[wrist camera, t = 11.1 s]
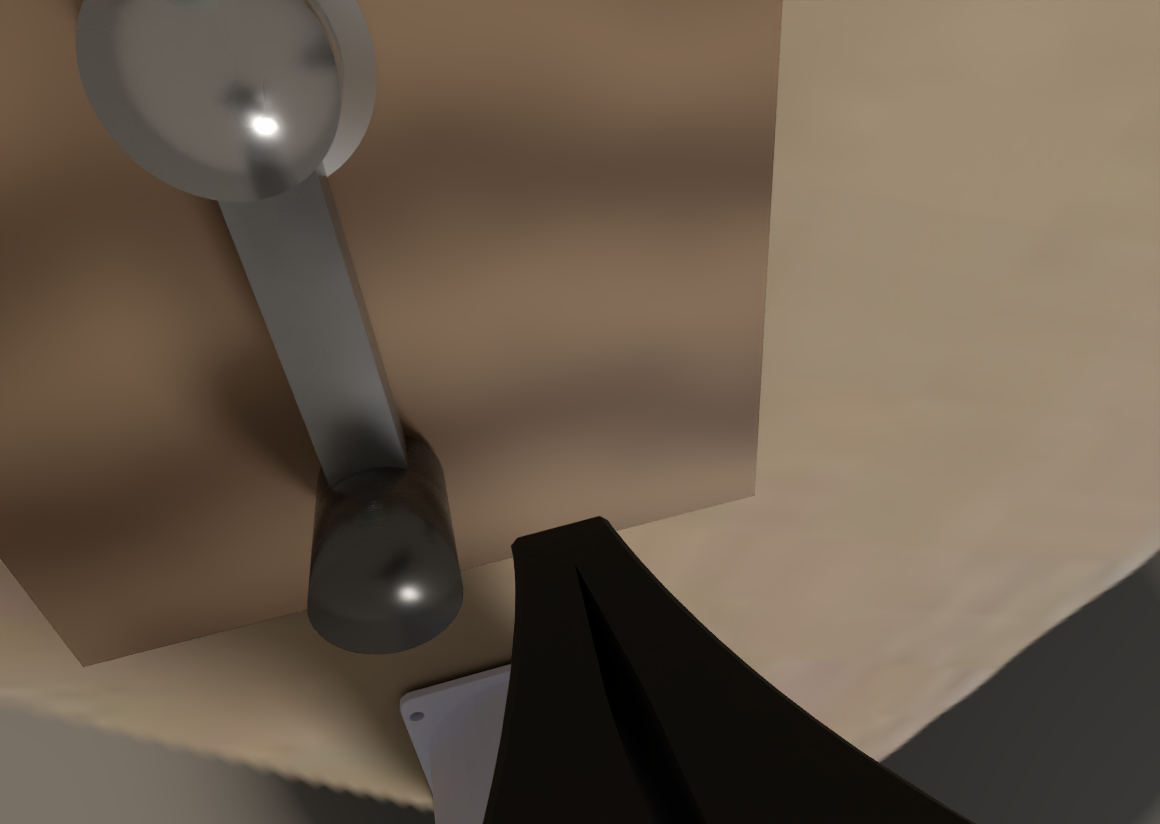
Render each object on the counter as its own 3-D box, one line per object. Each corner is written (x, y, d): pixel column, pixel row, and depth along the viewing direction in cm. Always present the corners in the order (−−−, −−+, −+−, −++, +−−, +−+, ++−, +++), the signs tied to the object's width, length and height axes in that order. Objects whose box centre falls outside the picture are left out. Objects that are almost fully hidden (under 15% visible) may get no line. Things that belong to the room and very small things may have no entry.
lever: (462, 512, 20) (484, 628, 16) (330, 545, 19) (324, 673, 16) (240, -329, 10) (182, -472, 7) (-27, -312, 10) (-232, -459, 6)
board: (727, 459, 24) (805, 564, 20) (104, 612, 21) (39, 776, 17) (756, -550, 12) (969, -826, 8) (-704, -559, 9) (-1664, -1033, 5)
